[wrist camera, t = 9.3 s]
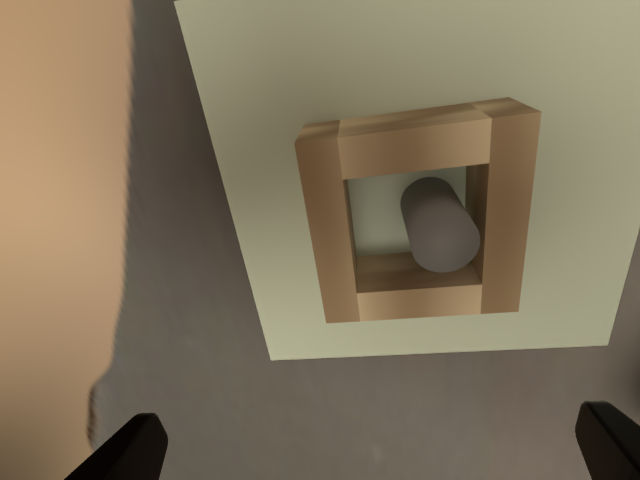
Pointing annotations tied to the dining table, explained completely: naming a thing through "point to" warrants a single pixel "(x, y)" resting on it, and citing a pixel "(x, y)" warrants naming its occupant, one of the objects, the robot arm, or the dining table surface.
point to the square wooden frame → (410, 156)
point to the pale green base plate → (430, 185)
